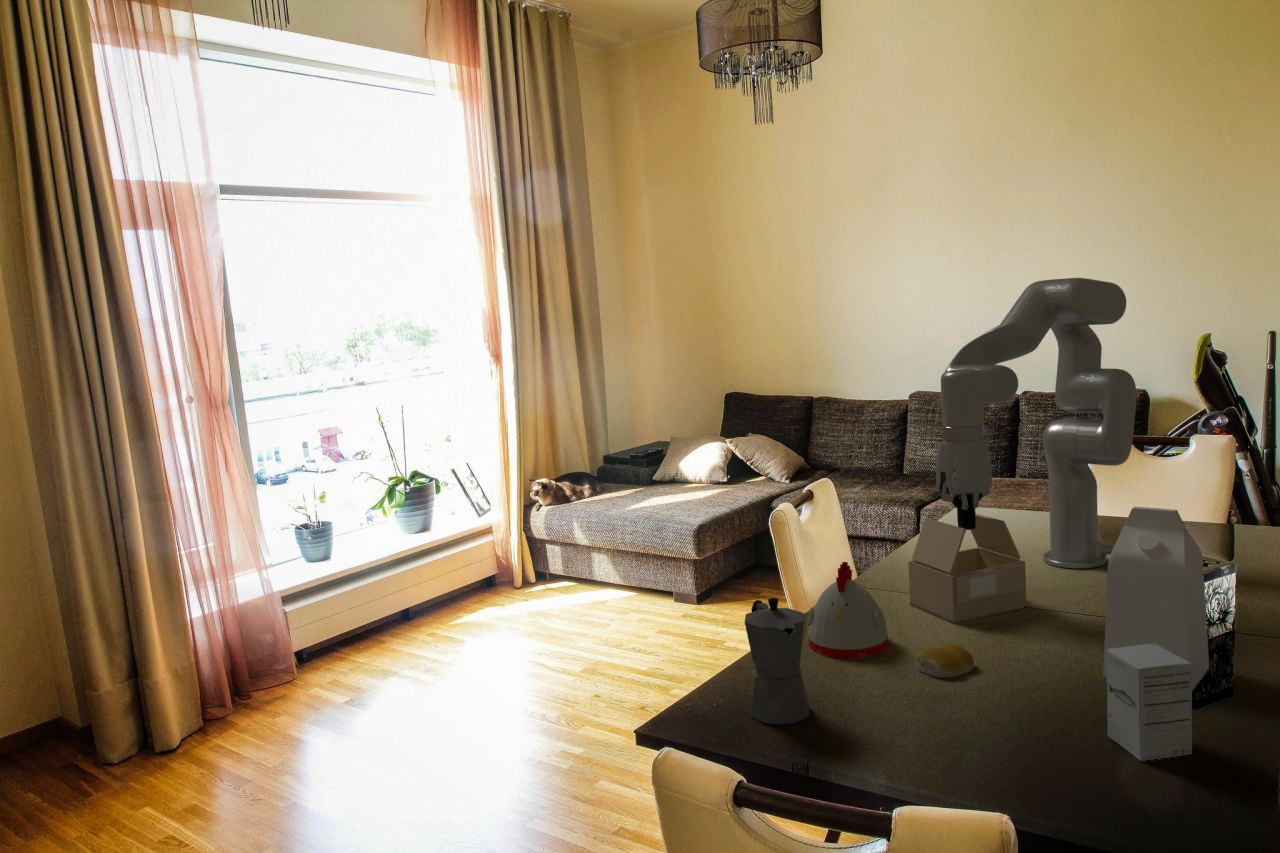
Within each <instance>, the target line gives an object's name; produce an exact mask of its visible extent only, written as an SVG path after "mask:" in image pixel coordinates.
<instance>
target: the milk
mask: <svg viewBox="0 0 1280 853" xmlns="http://www.w3.org/2000/svg"><path fill="white" fill-rule="evenodd" d="M1127 516H1128V517H1127V519H1126V521H1125V523H1124V526H1123V528H1121V531H1120V533H1119V535H1118V538H1117V539H1116V542H1115V544H1114V548H1113V550H1112V552H1111V554H1109V558H1108V561H1107V562H1108V563H1107V571H1106V572H1107V574H1106V578H1107V579H1106V595H1105V596H1106V597H1105V598H1106V599H1105V600H1106V601H1105V622H1104V623H1105V624H1104V644H1103V645H1104V646H1103V667H1102V668H1103V671H1102V673H1103V674H1102V677H1103V678H1107V649H1111V648H1120V647H1128V646H1136V645H1144V644H1157V645H1159V646H1161V647H1162V648H1164V649H1166V650H1168V651H1170V652H1172V653H1174V654H1175V655H1177V656H1179V657H1181V658H1183V659H1184V660H1186V661H1188V662H1190V663H1191V664H1192V692H1193V691H1194V690H1195V688H1196V687H1197V686H1196V685H1198V684H1199V682H1200V681H1201V680H1202V679H1203V678H1204V676H1205V674H1207V672H1208V671H1207V670H1209V669H1210V659H1209V658H1210V657H1209V656H1210V655H1209V640H1208V628H1207V627H1208V624H1207V610H1206V608H1207V607H1206V592H1205V577H1204V576H1205V575H1204V574H1205V573H1204V561H1203V560H1204V559H1203V553H1202V550H1201V548H1200V546H1199V545H1198V543H1197V542H1196V540H1195V539H1194V538H1193V536H1192V535H1191V533H1190V531H1189V530H1188V529H1187V527H1186V524H1185V523H1184V520H1183V519H1182V518H1181V515H1180V513H1179V511H1178V509H1170V508H1160V507H1159V508H1157V507H1146V506H1133V507H1132V508H1131V510H1130V512H1129V514H1128V515H1127ZM1193 689H1194V690H1193Z"/></svg>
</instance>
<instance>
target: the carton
mask: <svg viewBox="0 0 1280 853" xmlns="http://www.w3.org/2000/svg"><path fill="white" fill-rule="evenodd" d="M907 566H908V583H909V584H908V586H909V605H910V606H911V607H912V608H915V609H918V610H921V611H922V612H925V613H927V614H930V615H932V616H934V617H937V618H939V619H941V620H944V621H946V622H948V623H951V624H953V625H955V624H959V622H960V623H964V622H968V620H969V621H973V620H977V619H980V618H981V617H982V618H986V617H990V616H989V615H991V616H994V614H995V615H999V614H1002V613H1003V612H1004V613H1008V612H1011V610H1012V611H1016V610H1015V609H1017V610H1021V609H1025V608H1024V607H1026V608H1027V581H1026V578H1027V577H1026V561H1024V560H1022V559H1016V558H1012V557H1009V556H1006V555H1002V554H999V553H996V552H993V551H989V550H986V549H983V548H979V547H978V546H977V547H974V548H968V549H964V550H959V553H958V556H957V559H956V562H955V565H954V568H953V571H952V573H949V572H946V571H944V570H941V569H938V568H935V567H932V566H930V565H927V564H924V563H921V562H918V561H916V560H913V559H911V560H908V565H907ZM1020 608H1021V609H1020ZM1007 611H1008V612H1007ZM998 613H999V614H998ZM985 616H986V617H985ZM972 619H973V620H972ZM963 621H964V622H963Z"/></svg>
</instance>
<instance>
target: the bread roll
mask: <svg viewBox="0 0 1280 853" xmlns="http://www.w3.org/2000/svg"><path fill="white" fill-rule="evenodd" d="M915 666H916V668H917V669H918V671H919V672H921V673H923V674H924V675H927V676H929V677H934V678H936V677H937V678H938V679H950V678H951V679H953V678H957V677H959V676H961V675H963V674H968V673H970V672H972V670H974V668H975V660H974V658H973V655H972V654H971V653H970V652H969V650H967V648H965V647H963V646H961V645H958V644H955V643H945V644H944V643H943V644H938V645H934V646H933V647H931V648H926V649H924V650H923V649H922V650H921V651H919V653H918V654H917V656H916V659H915Z"/></svg>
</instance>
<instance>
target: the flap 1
mask: <svg viewBox="0 0 1280 853" xmlns="http://www.w3.org/2000/svg"><path fill="white" fill-rule="evenodd" d="M923 520H924V521H923V523H922V527H921V530H920V533H919V535H918V540H917V542H916V544H915V548H914V551H913V554H912V556H911V560H916V561H918V562H921V563H924V564H927V565H930V566H932V567H935V568H938V569H941V570H944V571H946V572H949V573H952V571H953V568H954V565H955V562H956V559H957V556H958V553H959V551H961V550H960V549H961V548H962V547H961V546H962V544H963V541H964V538H965V534H966V531H967V530H966V529H964V528H960V527H958V525H952V524H949V523H945V522H942V521H938V520H936V519H935V520H934V519H932V518H928V517H924V519H923Z"/></svg>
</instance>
